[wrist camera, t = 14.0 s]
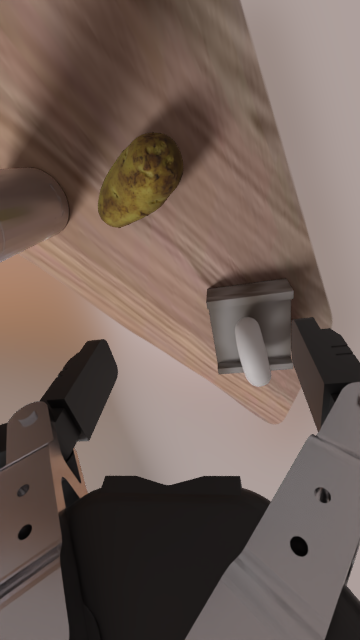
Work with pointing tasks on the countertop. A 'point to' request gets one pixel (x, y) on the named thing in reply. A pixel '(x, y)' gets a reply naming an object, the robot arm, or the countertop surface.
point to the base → (260, 304)
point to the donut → (252, 351)
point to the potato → (140, 180)
